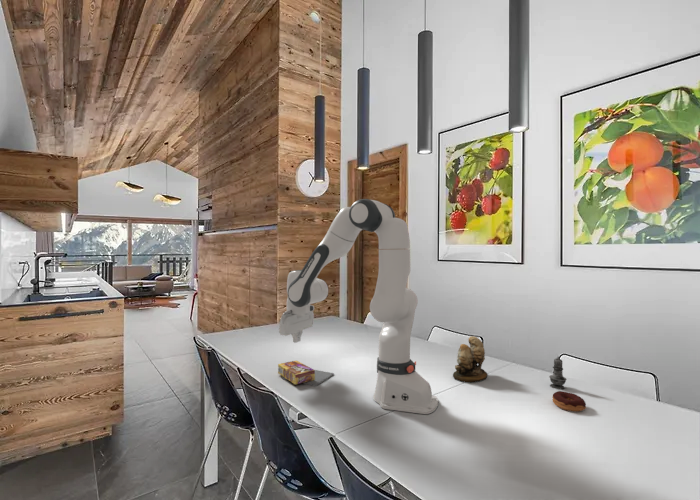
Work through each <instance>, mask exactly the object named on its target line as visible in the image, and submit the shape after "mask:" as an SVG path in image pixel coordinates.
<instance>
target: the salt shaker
mask: <svg viewBox="0 0 700 500" xmlns="http://www.w3.org/2000/svg"><path fill="white" fill-rule="evenodd" d="M552 369H553V373H552V375H549V377H548V378H549V380H550V382H551V384H549V387H550V388H553V389H555V390H559V391H561V390H562V391H563V390H566V386H564V385H565V383H566V381H567V378H566V377H564V375H563V370H564V368H563V360H562V359H561V358H560V356H559V355H557V358H554V359H553V366H552Z"/></svg>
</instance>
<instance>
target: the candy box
mask: <svg viewBox="0 0 700 500" xmlns="http://www.w3.org/2000/svg"><path fill="white" fill-rule="evenodd" d="M315 370H316V369H314V368H312V367H309V366H308V365H306V364H304V363H302V362H300V361H298V360H292V361H287V362H286V361H285V362H281V363H278V364H277V374H278V375H280V376H281V377H284V378H286V379H287V380H286V381H290V382H291V383H292V384H293V385H300V384H304V382H308V381H312V380H315Z"/></svg>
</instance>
